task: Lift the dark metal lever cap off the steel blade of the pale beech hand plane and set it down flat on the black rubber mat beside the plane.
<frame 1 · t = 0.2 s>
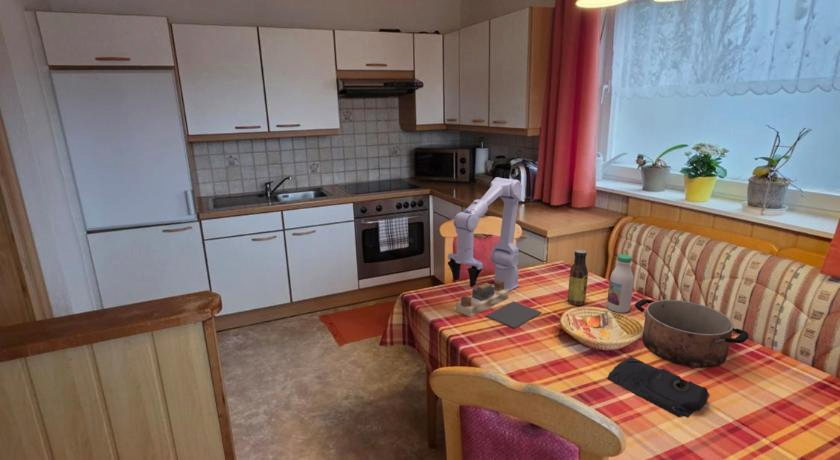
hand: (464, 282, 161), 10 cm above the table, tool pointing down, fingers open, 7 cm apart
milk bottle: (618, 309, 163), on the table
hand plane: (482, 304, 166), on the table
black flat holed part: (656, 389, 119), on the table
sauce bottle: (576, 302, 168), on the table
rubber mat: (513, 315, 158), on the table
lever cap: (483, 295, 166), point 3 cm above the table, touching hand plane
cooking pot: (682, 348, 137), on the table
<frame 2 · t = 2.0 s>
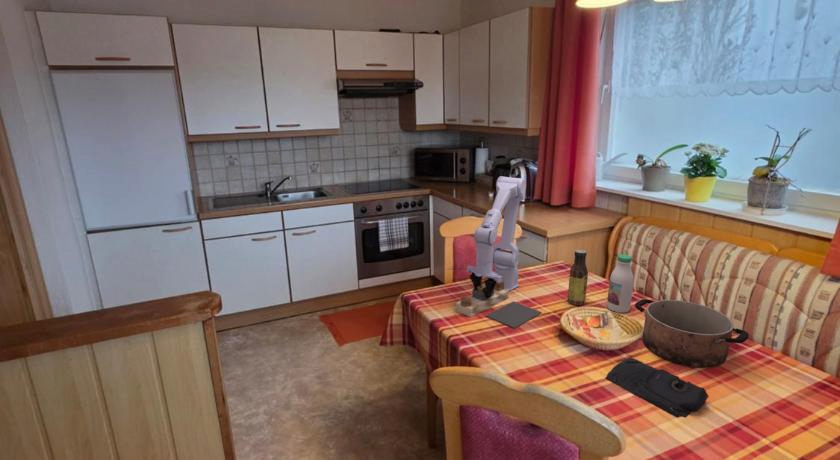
hand: (483, 294, 165), 4 cm above the table, tool pointing down, fingers closed on lever cap, 4 cm apart
lever cap: (483, 295, 166), point 3 cm above the table, touching gripper, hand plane
everything else where it was.
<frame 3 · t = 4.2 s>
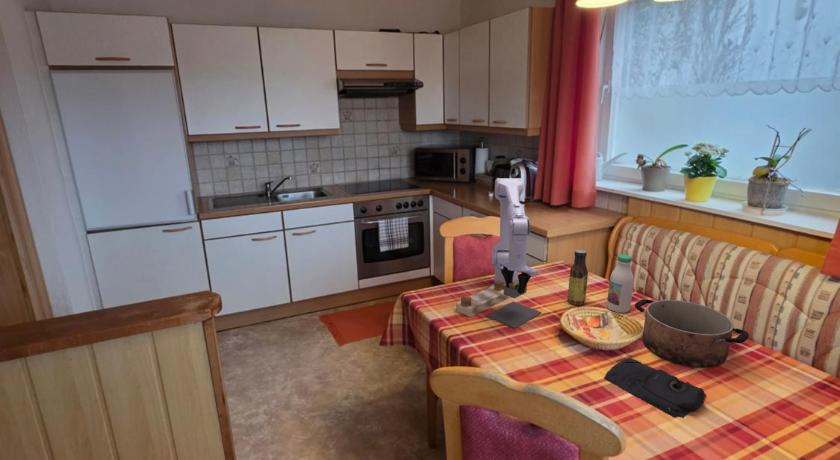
hand: (515, 290, 155), 9 cm above the table, tool pointing down, fingers closed on lever cap, 4 cm apart
lever cap: (515, 293, 156), point 8 cm above the table, touching gripper
everything else where it was.
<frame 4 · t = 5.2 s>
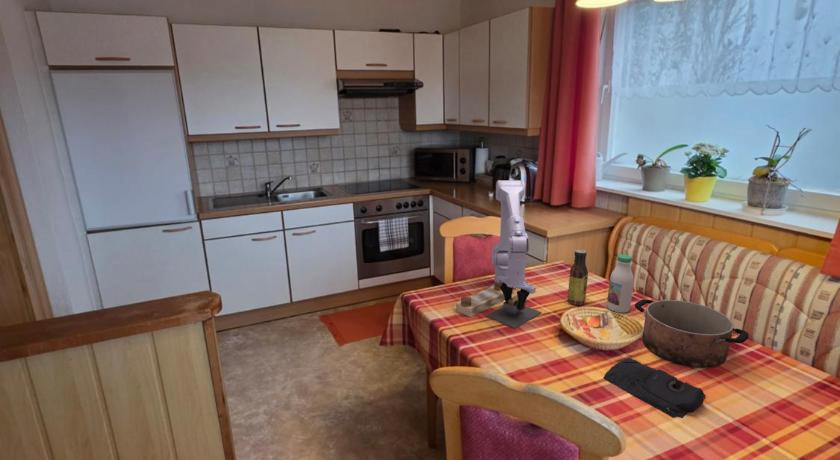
hand: (514, 306, 157), 3 cm above the table, tool pointing down, fingers closed on lever cap, 4 cm apart
lever cap: (514, 309, 157), point 2 cm above the table, touching gripper
when the fingers open (3 cm above the table, at t = 6.2 s): lever cap drops 1 cm, resting on rubber mat.
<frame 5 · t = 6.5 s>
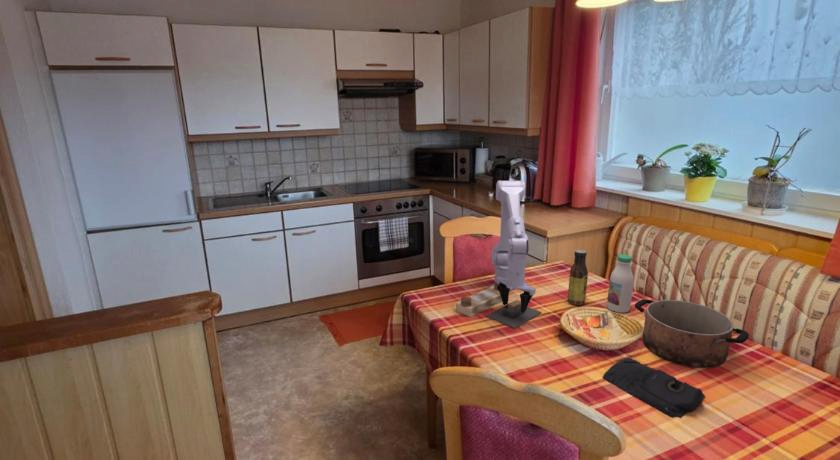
hand: (514, 307, 157), 3 cm above the table, tool pointing down, fingers open, 7 cm apart
lever cap: (513, 313, 158), resting on rubber mat
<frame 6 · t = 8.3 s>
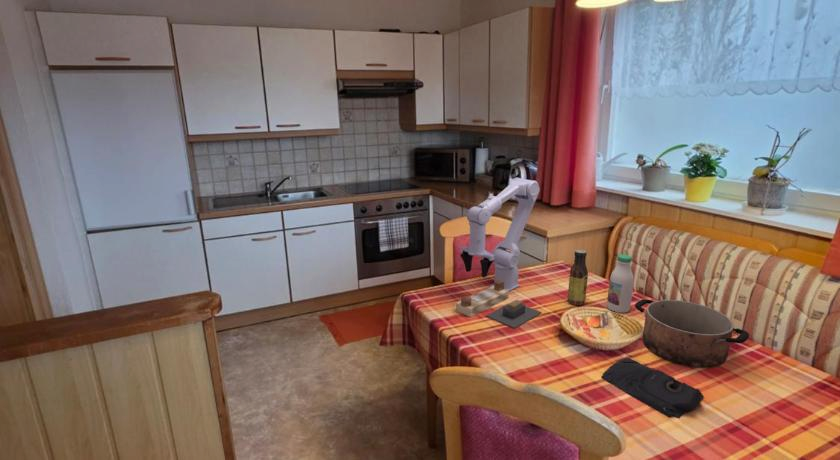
hand: (476, 273, 170), 9 cm above the table, tool pointing down, fingers open, 7 cm apart
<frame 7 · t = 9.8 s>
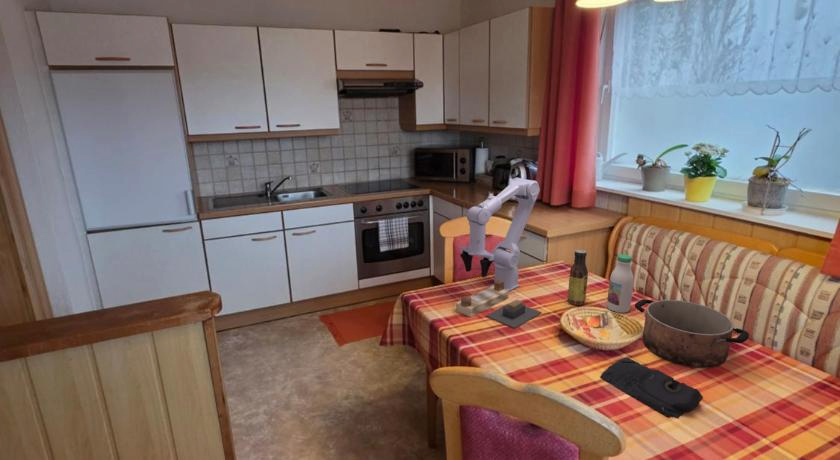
hand: (476, 273, 170), 9 cm above the table, tool pointing down, fingers open, 7 cm apart
at the end: lever cap inside the target area on the rubber mat (0.1 cm from its centre), point 0.5 cm above the rubber mat's base; lever cap tilted 0°; the gripper is holding nothing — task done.
